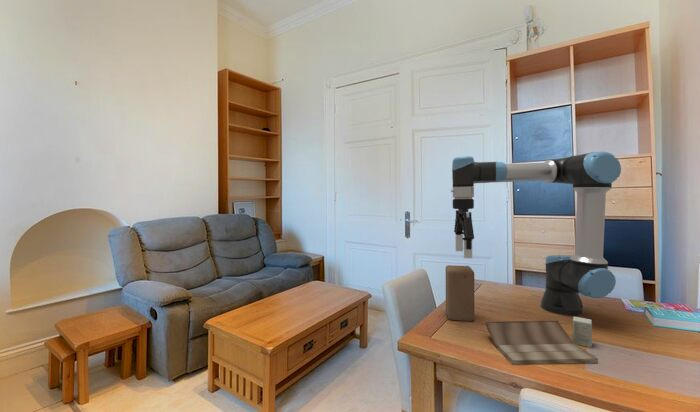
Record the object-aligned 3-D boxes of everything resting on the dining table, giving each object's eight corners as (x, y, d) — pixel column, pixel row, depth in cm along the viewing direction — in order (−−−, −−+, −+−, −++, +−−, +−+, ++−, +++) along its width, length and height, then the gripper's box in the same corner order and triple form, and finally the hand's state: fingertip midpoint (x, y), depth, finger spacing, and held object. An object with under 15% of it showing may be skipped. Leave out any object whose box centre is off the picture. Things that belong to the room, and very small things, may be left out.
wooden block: (474, 322, 120) (474, 271, 120) (448, 320, 122) (447, 270, 122) (470, 312, 130) (470, 265, 130) (445, 311, 132) (445, 264, 132)
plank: (556, 323, 108) (557, 320, 108) (573, 346, 101) (574, 343, 100) (485, 324, 108) (486, 321, 107) (496, 347, 100) (497, 344, 100)
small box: (591, 342, 103) (592, 319, 102) (591, 348, 99) (592, 323, 99) (572, 338, 106) (573, 315, 106) (572, 343, 102) (572, 320, 102)
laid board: (575, 347, 100) (575, 343, 100) (597, 362, 91) (597, 358, 91) (497, 349, 99) (497, 345, 99) (512, 364, 90) (512, 360, 90)
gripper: (446, 198, 129) (446, 248, 130) (460, 199, 105) (460, 261, 105) (465, 197, 128) (465, 248, 129) (483, 198, 104) (483, 261, 104)
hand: (463, 254), depth 117 cm, fingers open, 13 cm apart
